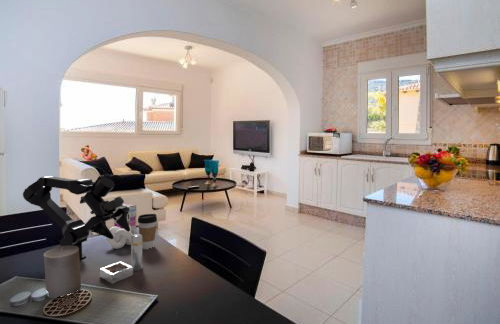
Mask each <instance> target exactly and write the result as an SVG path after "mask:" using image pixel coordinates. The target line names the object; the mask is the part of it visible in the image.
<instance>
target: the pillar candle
mask: <svg viewBox="0 0 500 324" xmlns="http://www.w3.org/2000/svg"><path fill="white" fill-rule="evenodd" d="M43 260H44V261H43V262H44V263H43V264H44V278H45V279H44V281H45V291H46V290H47V291H48V292H49V297H50V298H49V299H57V298H56V297H59V296H63V295H67V294H70V293H72V292H75V291H77V290H79V291H80V289H81V288H82V284H81V283H82V282H81V281H82V280H81V261H80V260H81V259H80V258H79V248H78V247H77V246H56V247H53V248H50V249H48V250H47V251H45V252H44V253H43ZM77 292H78V291H77Z"/></svg>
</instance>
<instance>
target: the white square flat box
mask: <svg viewBox="0 0 500 324" xmlns="http://www.w3.org/2000/svg"><path fill="white" fill-rule="evenodd" d="M99 276H100V279H103V280H105V281H106V282H108V283H110V284H115V283H118V282H119V281H122V280H125V279H127V278H130V277H132V276H134V271H133V267H132V266H131V264H127V263H125V262H123V261H118V262H115V263H112V264H108V265H107V266H105V267H100V269H99Z"/></svg>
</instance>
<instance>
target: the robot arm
mask: <svg viewBox="0 0 500 324" xmlns="http://www.w3.org/2000/svg"><path fill="white" fill-rule="evenodd" d="M114 187H115V182H114V180H113V179H111V178H109V177H106V176H105V175H104V174H103V175H98V177H97V179H96V180H95V181H94V180H93V179H91V178H78V179H76V178H75V179H72V178H65V177H59V176H52V175H47V176H46V175H45V176H41V177H39V178H38V179H37V180H36V181H34V182H33V183H32V184H30V185H28V186H27V187H26V188H25V189H24V190H23V192H22V198H23V199H24V200H25V201H26V202H28V203H29V204H31V205H33V206H37V207H38V208H40V209H41V210H43V212H45V213H46V215H47V216H49V217H50V218H51V220H52V221H54V222H55V223H56V224H57V225H58V226H59V227H60V228H61V231H62V236H63V237H62V238H61V239H60V240H59V245H60V246H77V247H78V248H79V258H80V260H83V259H86V258H87V256H86V255H85V254H83V243H84V242H87V241H88V237H89V235H90V232H91V233H94V234H95V233H96V234H98V235H101V236H103V237H105V238H107V237H108V238H110V239H113V238H114V236H113V235H112V233H111V232H110V230H109V229H110V228H109V227H108V226H107V224H106V223H107V221H109V220H113V221H114V220H116V223H117V224H118V225H120V226H121V227H122V228H124V229H125V230H126V231H128V232H129V231H130V227H129V224H128V221H127V214H128V212H129V211H130V210H129V209H128V208H127V207H121V208H119V209H118V210H117V211H116V208H117V207H120V206H123V205H122V204H123V203H125V201H124V199H123V198H122V197H121V195H120V196H117V197H114V199H112V200H110V201H109V200H105V199H104V198H105V197H106V196H108V194H109V193H110V192H111V191H112V189H114ZM54 188H55V189H62V190H67V191H68V192H69V193H71V194H74V195H75V196H76V195H77V196H79V195H83V194H85V195H83V196H81V197H80V200H79V204H81V205H82V204H85V203H86V205H87V206H88V208H89V209H90V210H91V211H90V214H91V215H94V216H92V217H91V218H89V219H88V221H86V223H85V222H84V221H83V220H82V219H77V220H74V219H73V218H71V217H70V215H69V214H68V213H67V212H66V211H64V210H63V209H62V208H61V207H60V206H59V205H58V204H57V202H55V201H54V200H53V199H52V198H51V191H52V190H53V189H54ZM114 211H116V212H115V213H114ZM60 246H59V247H60Z"/></svg>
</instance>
